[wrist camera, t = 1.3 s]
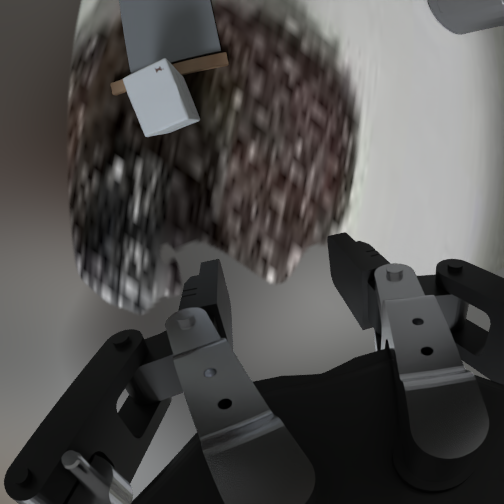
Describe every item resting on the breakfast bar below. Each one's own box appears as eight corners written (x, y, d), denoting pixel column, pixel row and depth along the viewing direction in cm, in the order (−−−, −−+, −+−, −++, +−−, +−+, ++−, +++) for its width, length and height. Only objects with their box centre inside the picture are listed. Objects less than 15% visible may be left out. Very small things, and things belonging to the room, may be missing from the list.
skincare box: (150, 90, 34) (120, 76, 22) (183, 76, 33) (166, 55, 22) (168, 135, 36) (144, 138, 25) (201, 121, 36) (191, 118, 24)
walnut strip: (226, 54, 33) (226, 52, 32) (228, 65, 33) (228, 63, 32) (113, 84, 33) (110, 83, 32) (115, 95, 33) (112, 94, 32)
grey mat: (204, -27, 28) (203, -28, 28) (221, 51, 32) (221, 50, 32) (119, -4, 28) (118, -5, 28) (131, 74, 32) (130, 74, 32)
